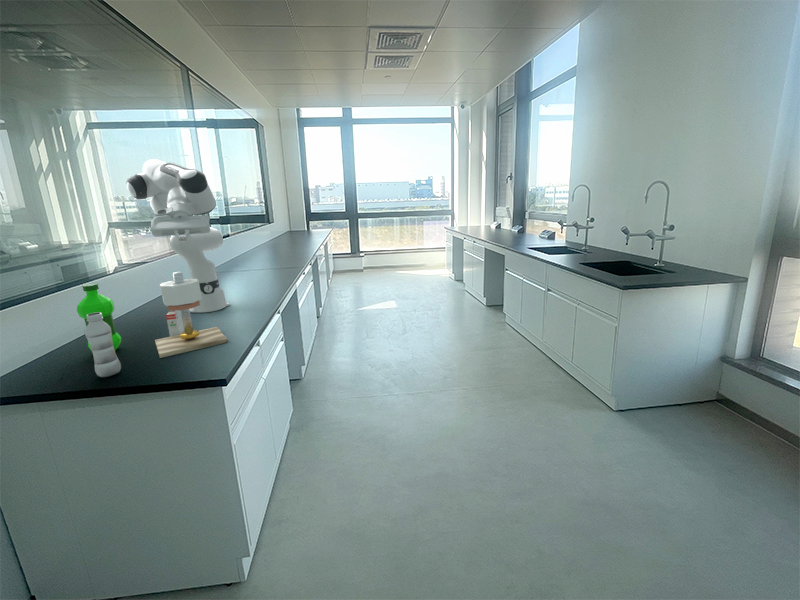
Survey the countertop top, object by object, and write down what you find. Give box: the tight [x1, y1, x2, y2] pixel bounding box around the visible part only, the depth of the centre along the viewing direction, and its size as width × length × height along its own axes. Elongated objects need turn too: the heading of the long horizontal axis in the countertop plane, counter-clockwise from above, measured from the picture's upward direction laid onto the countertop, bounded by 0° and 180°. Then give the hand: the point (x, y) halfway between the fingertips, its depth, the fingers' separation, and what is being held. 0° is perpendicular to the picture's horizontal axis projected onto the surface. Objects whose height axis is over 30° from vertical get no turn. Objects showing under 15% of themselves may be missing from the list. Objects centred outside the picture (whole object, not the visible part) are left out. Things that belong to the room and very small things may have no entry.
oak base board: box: [154, 326, 228, 359], centre depth 147 cm, size 18×22×2 cm
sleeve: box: [159, 278, 202, 307], centre depth 142 cm, size 12×12×7 cm
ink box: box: [165, 310, 184, 337], centre depth 155 cm, size 4×8×15 cm, turn 17°
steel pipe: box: [172, 271, 199, 341], centre depth 144 cm, size 6×6×26 cm
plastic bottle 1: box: [76, 283, 122, 352], centre depth 140 cm, size 10×10×25 cm
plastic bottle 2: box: [84, 312, 122, 378], centre depth 120 cm, size 6×7×20 cm
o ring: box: [167, 301, 200, 311], centre depth 144 cm, size 10×10×2 cm
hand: (182, 239), depth 149 cm, fingers closed
